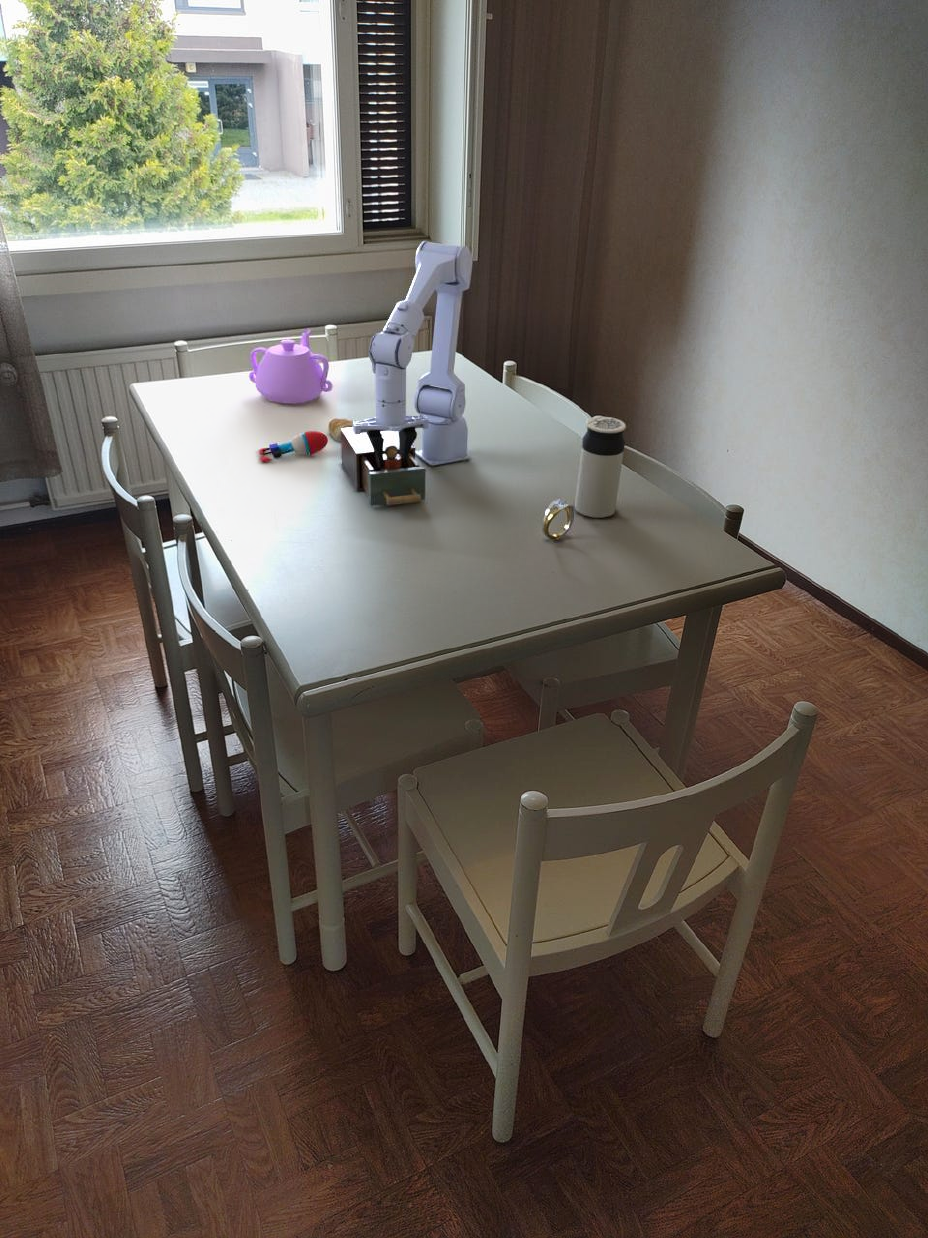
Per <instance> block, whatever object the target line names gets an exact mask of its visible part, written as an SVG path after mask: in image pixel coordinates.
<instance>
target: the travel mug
mask: <svg viewBox="0 0 928 1238" xmlns="http://www.w3.org/2000/svg"><path fill="white" fill-rule="evenodd" d="M585 426H586V432H585V434H584V435H583V437H582V442H581V451H580V459H579V469H578V476H577V484H576V493H575V501H574V509H575V510H576V511H577V513H579V514H581V515H583V516H586V517H589V518H595V519H601V518H602V519H603V518H607V517H610V516H612V515H614V514H615V512H616V507H617V499H618V493H619V486H620V479H621V473H622V467H623V458H624V452H625V445H626V440H625V438H624V435H623V434H624V431H625V430H626V428H627V425H626V423H625V422H624V421H622V420H621V419H618V418H615V417H609V416H594V417H590V418H588V419H587V420H586V421H585Z"/></svg>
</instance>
